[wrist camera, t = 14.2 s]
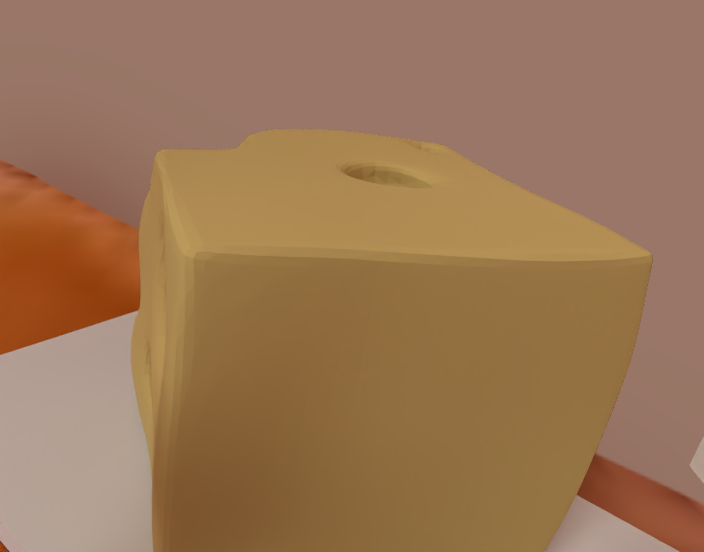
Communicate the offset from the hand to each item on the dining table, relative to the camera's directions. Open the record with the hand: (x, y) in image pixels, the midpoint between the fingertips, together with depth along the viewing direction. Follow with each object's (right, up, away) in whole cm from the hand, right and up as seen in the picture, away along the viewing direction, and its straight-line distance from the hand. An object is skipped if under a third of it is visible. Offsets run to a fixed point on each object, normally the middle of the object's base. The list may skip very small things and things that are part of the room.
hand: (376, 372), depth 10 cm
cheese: (-1, -5, +8) cm, 10 cm away
